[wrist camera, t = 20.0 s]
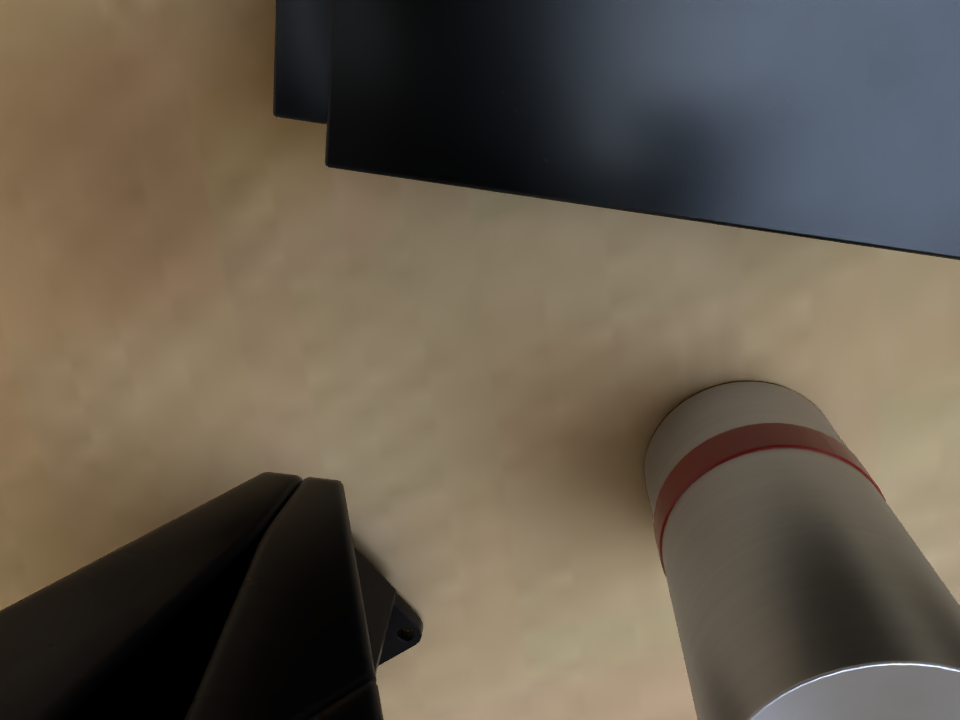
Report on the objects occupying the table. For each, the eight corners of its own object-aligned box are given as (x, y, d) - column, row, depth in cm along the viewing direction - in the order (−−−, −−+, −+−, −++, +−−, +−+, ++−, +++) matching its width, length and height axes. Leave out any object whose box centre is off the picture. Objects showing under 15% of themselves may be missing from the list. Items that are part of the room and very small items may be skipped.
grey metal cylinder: (705, 574, 23) (810, 931, 14) (605, 445, 22) (649, 750, 13) (874, 486, 22) (1114, 823, 13) (777, 341, 20) (968, 604, 11)
